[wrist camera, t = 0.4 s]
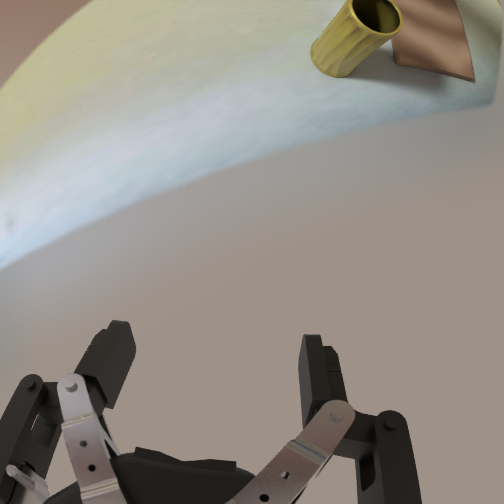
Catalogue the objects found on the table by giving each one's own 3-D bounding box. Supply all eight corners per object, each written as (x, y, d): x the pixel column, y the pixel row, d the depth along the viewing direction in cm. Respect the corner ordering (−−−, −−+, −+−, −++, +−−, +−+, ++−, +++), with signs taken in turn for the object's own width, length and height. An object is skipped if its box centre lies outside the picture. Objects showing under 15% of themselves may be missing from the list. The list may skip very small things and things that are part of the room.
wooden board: (375, -25, 27) (379, -29, 26) (448, -3, 27) (452, -5, 26) (395, 63, 32) (400, 61, 30) (468, 80, 32) (474, 79, 30)
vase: (363, 54, 31) (416, 13, 18) (343, 86, 33) (393, 53, 19) (323, 28, 30) (360, -25, 17) (301, 60, 32) (332, 11, 18)
